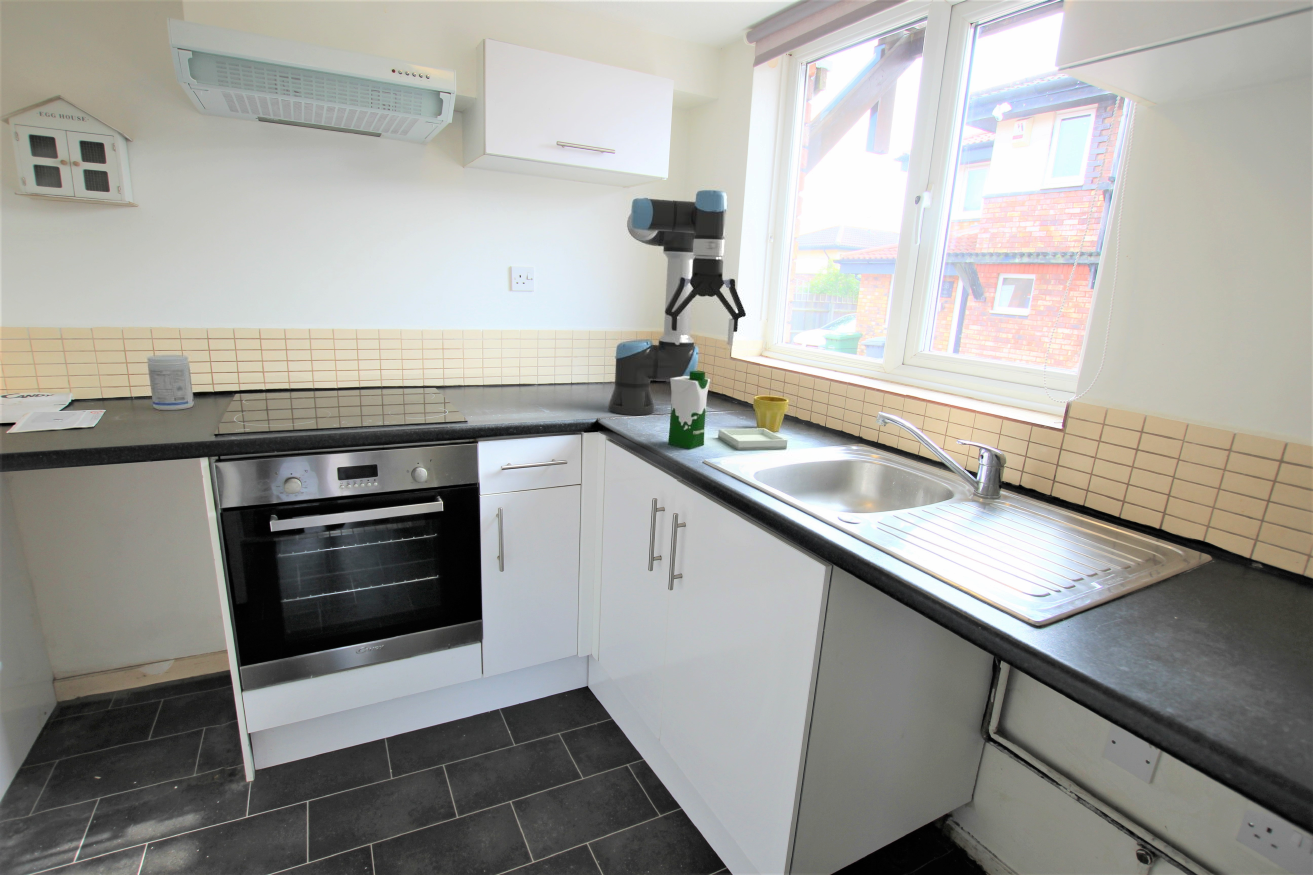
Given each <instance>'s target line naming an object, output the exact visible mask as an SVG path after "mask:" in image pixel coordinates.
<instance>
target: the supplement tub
mask: <svg viewBox="0 0 1313 875" xmlns="http://www.w3.org/2000/svg"><path fill="white" fill-rule="evenodd" d="M146 359H147V369H148V370H147V371H148V377H149V384H150V385H149V386H150V392H151V399H152V406H153V408H154V409H155V410H160V411H177V410H179V411H180V410H181V411H182V410H186V409H190V408H192V407H193V406H194V404H195V403H194V402H195V401H194V400H195V399H194V393H193V384H192V376H191V369H190V360H189V357H188V356H187V355H183V354H160V355H159V354H158V355H151V356H148V357H147V358H146Z"/></svg>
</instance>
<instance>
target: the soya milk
mask: <svg viewBox="0 0 1313 875" xmlns="http://www.w3.org/2000/svg"><path fill="white" fill-rule="evenodd" d="M669 382H670V389H671V391H670V392H671V396H670V398H671V399H670V400H671V401H670V416H669V419H670V420H669V431H668V440H667V442H668V443H667V445H668V446H673V447H678V448H682V449H686V450H693V449H696V448H700V447H702V446H704V445H705V425H706V424H705V423H706V411H707V400H708V399H707V398H708V397H707V396H708V391H709V387H710V382H711V379H710V378H706V371H701V370H696V371H690V376H682V377H676V378H670V381H669Z"/></svg>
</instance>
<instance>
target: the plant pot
mask: <svg viewBox="0 0 1313 875" xmlns="http://www.w3.org/2000/svg"><path fill="white" fill-rule="evenodd" d="M752 406H753V410H755V411H754V412H755V419H756V428H765V429H767V430H769V431H771V432H773V433H777V432H779V431H780V430H781V429H780V428H781V425H782V422H783V420H784V417H785V413H786V412H788V408H789V399H788V398H786V397H783V396H782V397H781V396H776V395H756V396H754V397H753V403H752Z"/></svg>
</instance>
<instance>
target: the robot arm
mask: <svg viewBox="0 0 1313 875" xmlns="http://www.w3.org/2000/svg"><path fill="white" fill-rule="evenodd" d="M727 201H728V198H727V193H726V192H725V191H723V190H716V189H715V190H714V189H713V190H712V189H711V190H710V189H703V190H698V191H697V192H696V193H695V201H689V200H668V199H656V198H655V199H654V198H648V197H643V198H634V199H633V200H632V204H631V209H630V214H629V216H628V218H627V222H626V228H627V230H628V233H629V234H630V236H631V237H632V238H634V240H635V241H638V242H640V243H641V244H644V245H648V246H654V247H662V248H663V249H662V250H663V252H662V253H663V255H665V257H666V258H667V267H666V271H667V272H666V284H665V285H666V288H665V302H664V303H665V304H664V305H665V306H664V323H663V324H664V325H663V326H664V327H663V334H662V336H660V337H659V338H658V344H653V341H652V340H650V339H636V340H626V341H622V342H620V343H618V344H617V346H616V349H615V356H614V358H615V373H614V389H613V391H612V394H611V397H610V399H609V402H608V411H609V412H611V413H614V414H619V415H628V416H629V415H630V416H644V415H651V414H653V413H654V412H655V403H654V400H653V396H652V392H651V381H662V382H663V381H664V382H665V381H667V382H671V381H670V378H676V377H682V376H690V371H697V367H698V362H699V347H698V346H696V345H695V340H694V339H693V338H692V337H691V322H692V306H693V300H694V298H696V297H697V296H698V297H712V298H713V297H715V296H716V297H717V299H718V300H719V302H720V303H721V304H722V305H723V307H724V308H725V309H726V310H727V312H728V314H729V315H730V316H731V318H729V319H728V327H727V328H728V329H727V343H726V344H727V346H729V347H730V346H732V347H733V342H734V340H733V339H734V333H737V332H738V327H739V320H740V319H741V318H745V317H746V316H747V315H746V311H745V309H744V306H743V304H742V301H741V298H740V296H739V293H738V291H737V289H736V280H735V279H734V278H729V279H724V276H723V273H724V259H722V257H724V256H725V236H726V221H727V220H726V218H727V209H728V205H727V204H728V203H727ZM724 285H725V286H726V288H727V289H728V291H729V294H730V295H731V298H732V300H733V303H734V305H735V306H734V307H736V308H735V309H736V310H737V311H736V310H735V309H734V308H733V307H732V305H731V304H730V302H729V301H728V300H727V298H726V297H725V296H724V294H723V292H722V291H721V289H722V288H723V286H724Z"/></svg>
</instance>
